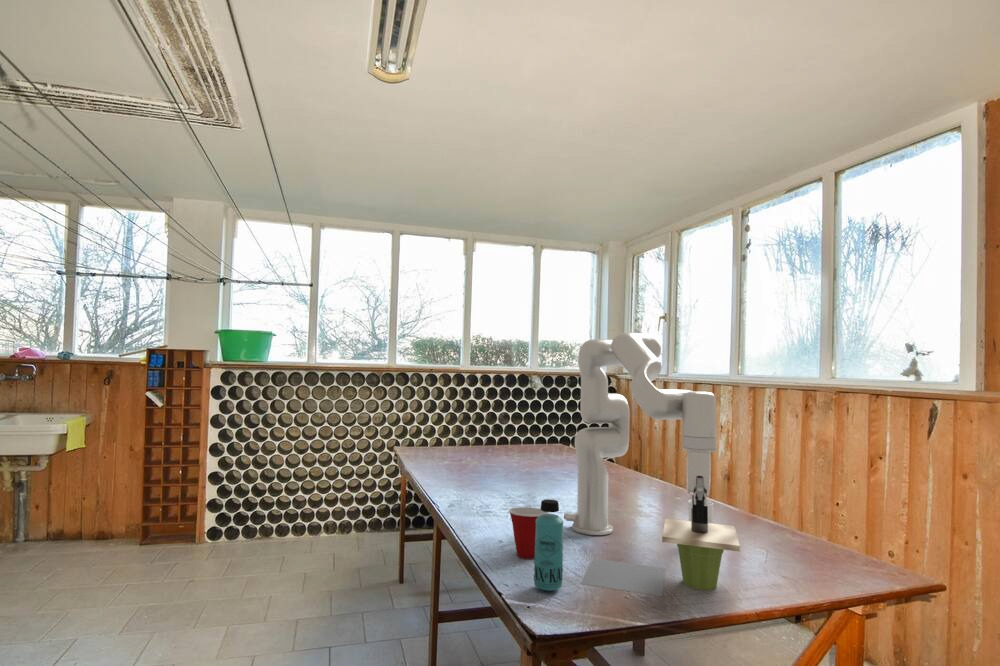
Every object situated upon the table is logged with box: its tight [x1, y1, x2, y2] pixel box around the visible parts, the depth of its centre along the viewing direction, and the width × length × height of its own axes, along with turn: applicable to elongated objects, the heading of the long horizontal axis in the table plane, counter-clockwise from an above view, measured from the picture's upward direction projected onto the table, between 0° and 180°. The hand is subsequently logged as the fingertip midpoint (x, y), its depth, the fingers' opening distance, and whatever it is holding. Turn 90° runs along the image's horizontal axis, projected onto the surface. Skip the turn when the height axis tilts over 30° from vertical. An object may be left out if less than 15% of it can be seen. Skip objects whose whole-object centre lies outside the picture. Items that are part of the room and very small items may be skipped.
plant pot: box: [676, 544, 725, 591], centre depth 123 cm, size 12×12×11 cm
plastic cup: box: [508, 506, 550, 560], centre depth 142 cm, size 11×11×12 cm
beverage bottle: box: [533, 498, 564, 591], centre depth 119 cm, size 6×7×20 cm
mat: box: [580, 557, 666, 598], centre depth 127 cm, size 18×18×1 cm
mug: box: [687, 499, 714, 524], centre depth 155 cm, size 10×7×12 cm, turn 149°
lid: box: [661, 508, 741, 552], centre depth 124 cm, size 16×16×6 cm
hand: (699, 517), depth 124 cm, fingers open, 9 cm apart
